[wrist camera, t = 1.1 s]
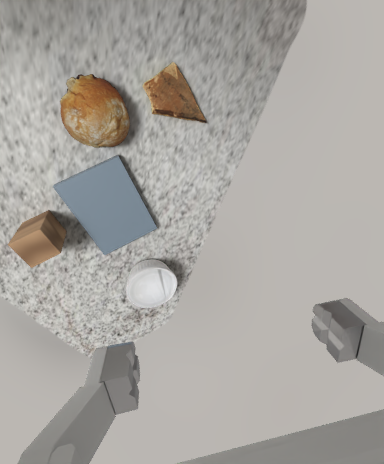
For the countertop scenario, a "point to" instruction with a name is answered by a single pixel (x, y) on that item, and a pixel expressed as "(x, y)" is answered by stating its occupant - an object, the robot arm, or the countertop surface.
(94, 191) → the slate board
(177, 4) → the countertop surface
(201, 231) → the countertop surface
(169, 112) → the shard
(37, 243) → the walnut block
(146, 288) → the ramekin
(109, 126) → the bread roll
